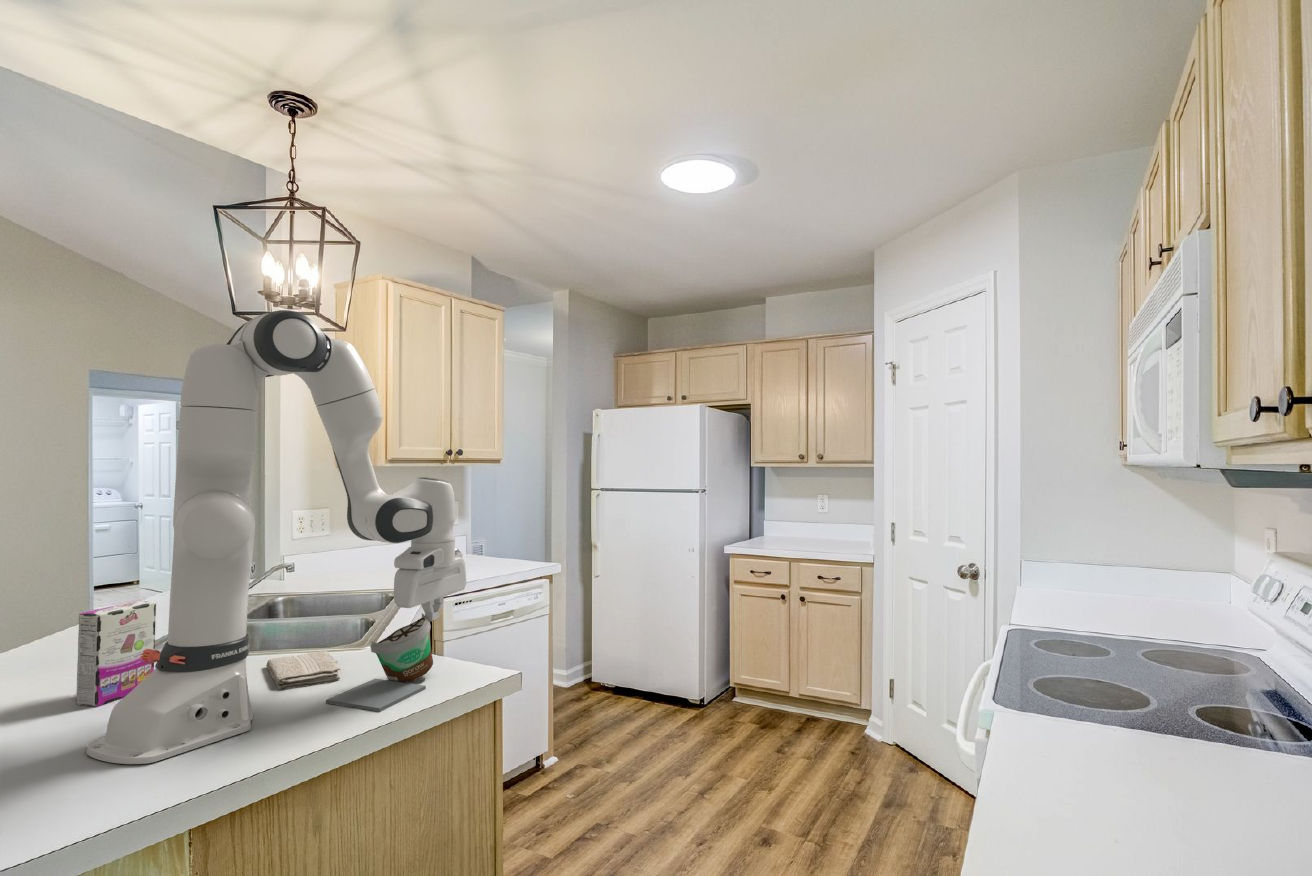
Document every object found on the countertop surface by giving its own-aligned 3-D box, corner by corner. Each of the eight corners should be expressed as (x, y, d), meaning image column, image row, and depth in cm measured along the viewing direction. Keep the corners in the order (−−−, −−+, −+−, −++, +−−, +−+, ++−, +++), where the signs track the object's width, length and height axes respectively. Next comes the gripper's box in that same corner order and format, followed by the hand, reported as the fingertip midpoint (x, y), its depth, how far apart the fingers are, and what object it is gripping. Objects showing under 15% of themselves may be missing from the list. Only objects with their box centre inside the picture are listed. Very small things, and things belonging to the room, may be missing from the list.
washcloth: (277, 693, 129) (278, 677, 129) (264, 669, 143) (264, 655, 143) (344, 682, 136) (344, 667, 136) (324, 660, 151) (325, 646, 151)
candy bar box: (133, 685, 131) (137, 600, 131) (154, 687, 130) (158, 601, 130) (72, 705, 120) (77, 612, 120) (95, 708, 119) (100, 614, 119)
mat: (379, 711, 120) (379, 708, 120) (325, 702, 124) (325, 699, 124) (425, 688, 132) (425, 685, 132) (375, 681, 136) (375, 678, 136)
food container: (396, 695, 131) (383, 652, 128) (381, 685, 135) (368, 642, 132) (451, 661, 140) (439, 619, 137) (435, 652, 144) (424, 612, 141)
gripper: (449, 546, 153) (448, 608, 153) (388, 561, 133) (387, 631, 133) (473, 548, 151) (473, 610, 151) (415, 562, 131) (414, 633, 131)
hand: (432, 620), depth 142 cm, fingers closed
